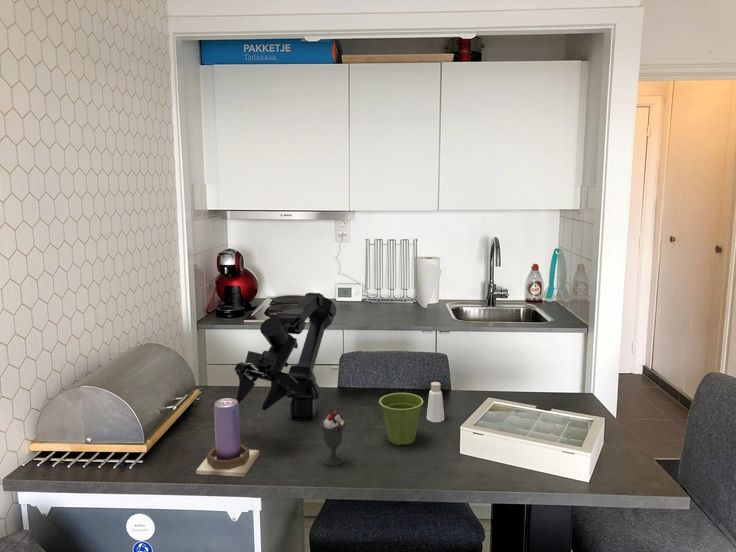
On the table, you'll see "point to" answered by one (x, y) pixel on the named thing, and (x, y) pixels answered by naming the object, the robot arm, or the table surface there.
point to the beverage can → (227, 429)
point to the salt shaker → (435, 404)
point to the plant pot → (401, 416)
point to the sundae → (333, 436)
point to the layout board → (228, 463)
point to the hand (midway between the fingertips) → (250, 405)
